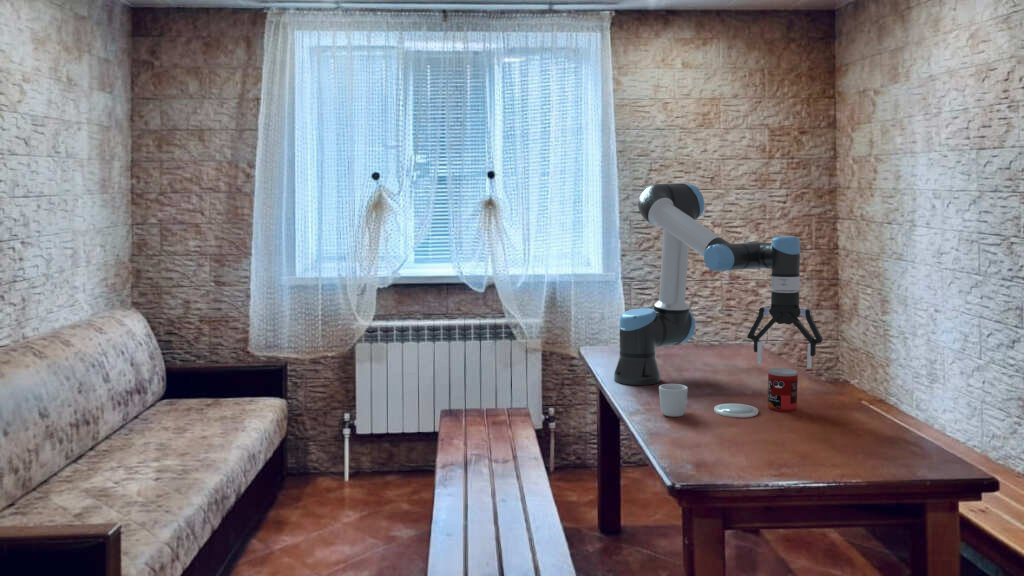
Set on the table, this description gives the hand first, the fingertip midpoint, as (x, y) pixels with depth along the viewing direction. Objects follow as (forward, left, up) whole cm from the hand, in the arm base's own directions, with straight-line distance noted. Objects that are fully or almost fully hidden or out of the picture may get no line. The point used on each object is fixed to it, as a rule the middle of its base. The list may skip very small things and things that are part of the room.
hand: (784, 365), depth 233 cm
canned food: (0, 0, -13) cm, 13 cm away
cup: (-26, -18, -13) cm, 34 cm away
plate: (-11, -9, -13) cm, 19 cm away
